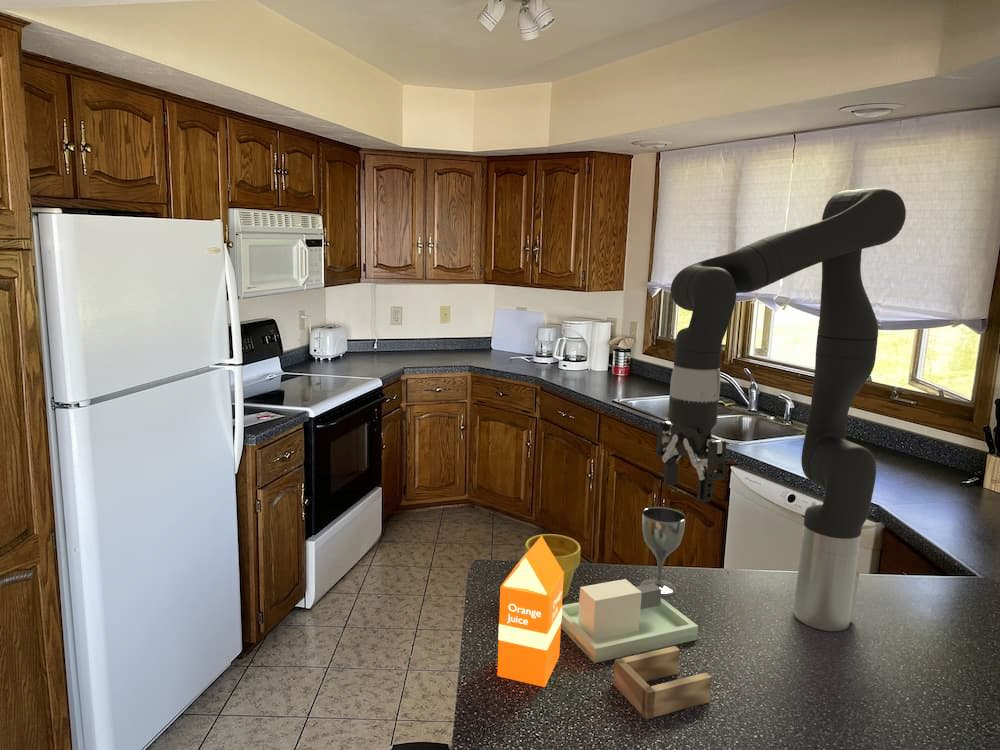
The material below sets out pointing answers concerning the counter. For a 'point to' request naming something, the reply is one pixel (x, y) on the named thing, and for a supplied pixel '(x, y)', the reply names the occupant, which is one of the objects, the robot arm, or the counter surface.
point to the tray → (654, 632)
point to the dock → (662, 696)
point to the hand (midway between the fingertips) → (686, 492)
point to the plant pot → (561, 555)
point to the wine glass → (662, 540)
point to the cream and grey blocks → (614, 607)
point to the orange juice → (531, 617)
